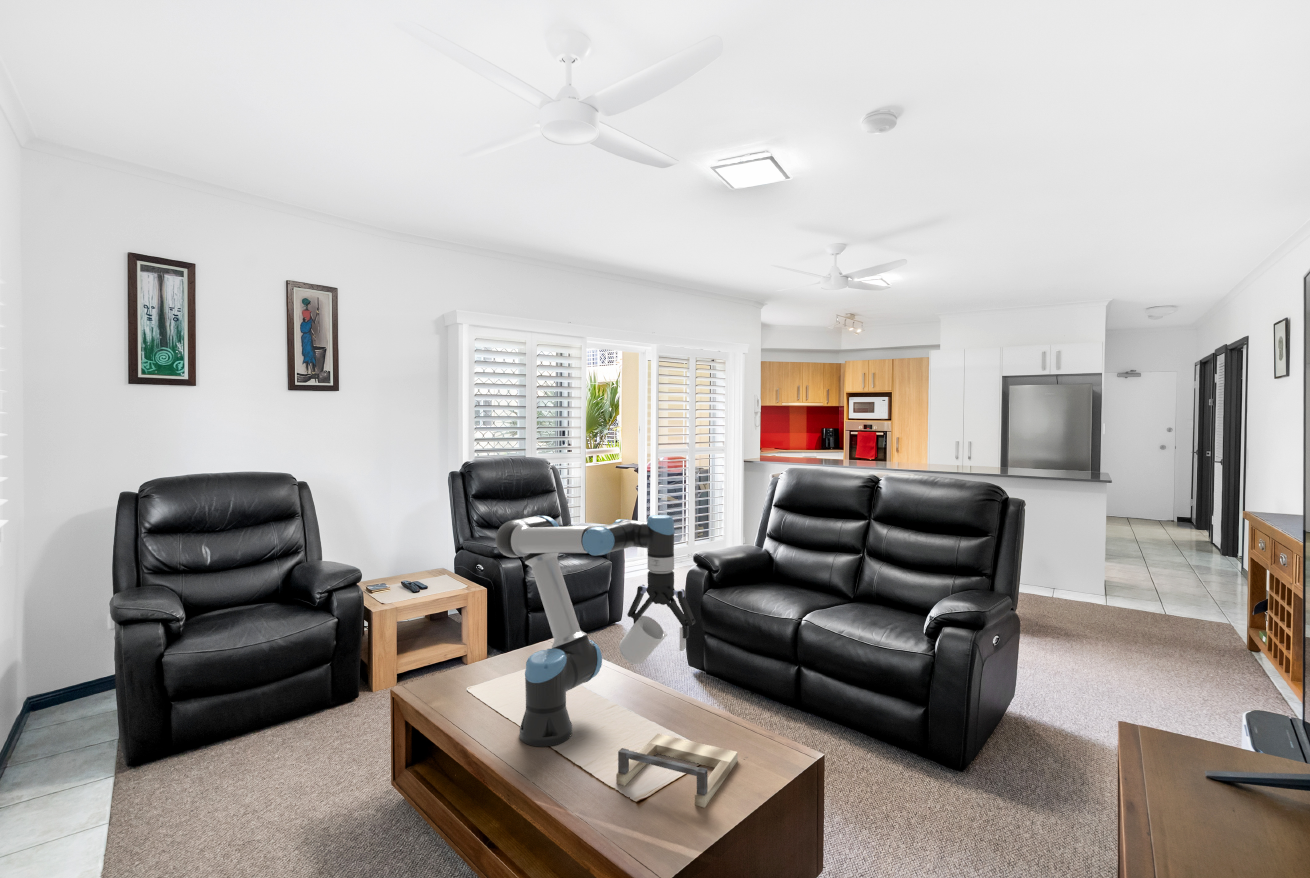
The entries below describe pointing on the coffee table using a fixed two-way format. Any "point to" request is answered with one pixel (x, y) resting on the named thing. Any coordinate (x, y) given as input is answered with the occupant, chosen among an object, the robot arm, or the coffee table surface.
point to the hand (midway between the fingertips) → (660, 645)
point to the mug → (641, 640)
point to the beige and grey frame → (680, 750)
